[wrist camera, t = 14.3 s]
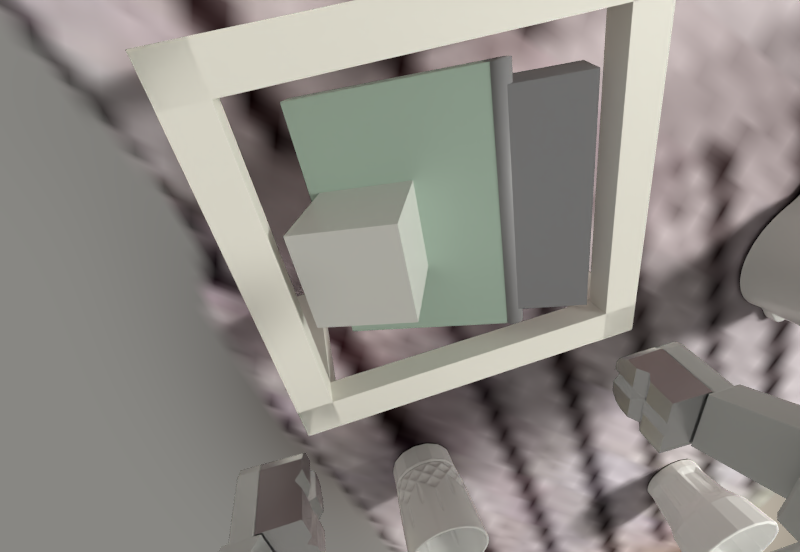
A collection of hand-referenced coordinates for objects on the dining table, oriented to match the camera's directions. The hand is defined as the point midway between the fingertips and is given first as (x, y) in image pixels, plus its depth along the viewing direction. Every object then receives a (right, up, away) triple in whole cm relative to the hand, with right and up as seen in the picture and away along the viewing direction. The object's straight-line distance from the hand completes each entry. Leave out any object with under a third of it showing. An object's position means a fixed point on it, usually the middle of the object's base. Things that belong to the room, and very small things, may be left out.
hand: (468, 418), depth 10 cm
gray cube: (-3, +6, +12) cm, 14 cm away
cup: (+40, -28, +54) cm, 73 cm away
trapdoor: (+1, +8, +13) cm, 16 cm away
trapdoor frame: (-2, +12, +20) cm, 23 cm away
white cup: (+1, -18, +37) cm, 41 cm away
